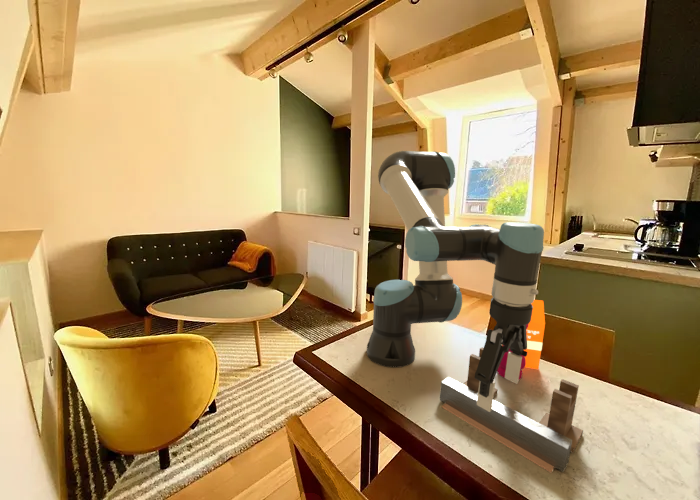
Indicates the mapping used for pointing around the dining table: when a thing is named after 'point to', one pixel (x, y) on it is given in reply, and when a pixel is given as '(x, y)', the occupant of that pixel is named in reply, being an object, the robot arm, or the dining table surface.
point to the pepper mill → (503, 363)
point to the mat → (500, 438)
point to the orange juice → (535, 335)
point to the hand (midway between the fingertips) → (498, 393)
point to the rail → (509, 424)
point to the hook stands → (559, 408)
